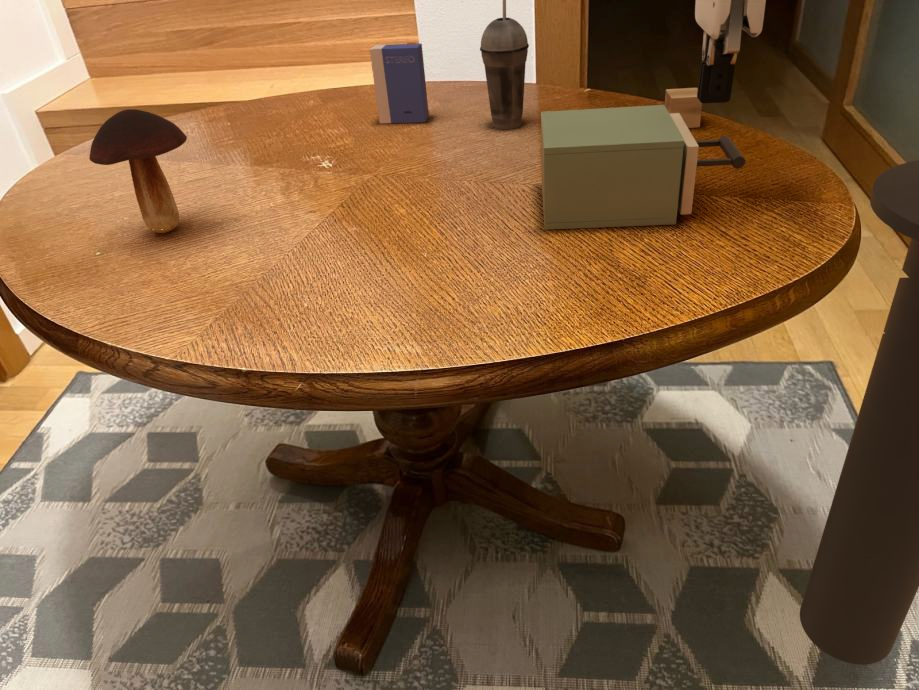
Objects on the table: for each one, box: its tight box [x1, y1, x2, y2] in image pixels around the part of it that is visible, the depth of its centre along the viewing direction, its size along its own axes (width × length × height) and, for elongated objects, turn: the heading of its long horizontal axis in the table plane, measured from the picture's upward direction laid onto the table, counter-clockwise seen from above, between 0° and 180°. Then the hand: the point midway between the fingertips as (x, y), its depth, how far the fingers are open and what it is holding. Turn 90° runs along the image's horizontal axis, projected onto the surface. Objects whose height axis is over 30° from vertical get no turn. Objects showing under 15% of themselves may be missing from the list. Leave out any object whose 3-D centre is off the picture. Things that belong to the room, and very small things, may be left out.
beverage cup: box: [479, 0, 530, 130], centre depth 109 cm, size 7×7×20 cm
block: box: [664, 87, 703, 129], centre depth 108 cm, size 4×4×4 cm
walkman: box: [369, 41, 430, 124], centre depth 117 cm, size 8×3×12 cm, turn 79°
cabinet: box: [540, 104, 684, 231], centre depth 85 cm, size 15×13×10 cm
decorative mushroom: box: [88, 108, 188, 234], centre depth 87 cm, size 11×11×15 cm
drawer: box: [670, 113, 746, 215], centre depth 84 cm, size 19×11×8 cm, turn 86°
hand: (713, 100), depth 80 cm, fingers closed
